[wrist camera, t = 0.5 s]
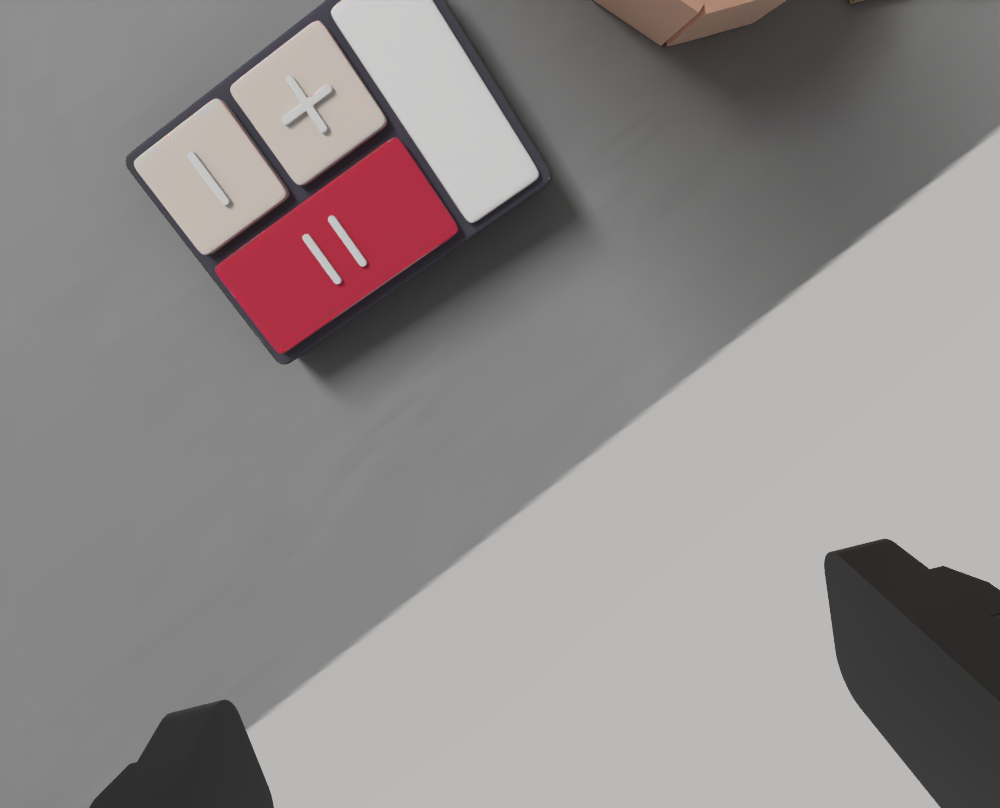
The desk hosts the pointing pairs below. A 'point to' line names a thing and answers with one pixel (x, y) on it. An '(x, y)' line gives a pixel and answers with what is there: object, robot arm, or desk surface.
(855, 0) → the mat
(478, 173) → the calculator
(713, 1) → the bowl
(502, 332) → the desk surface
